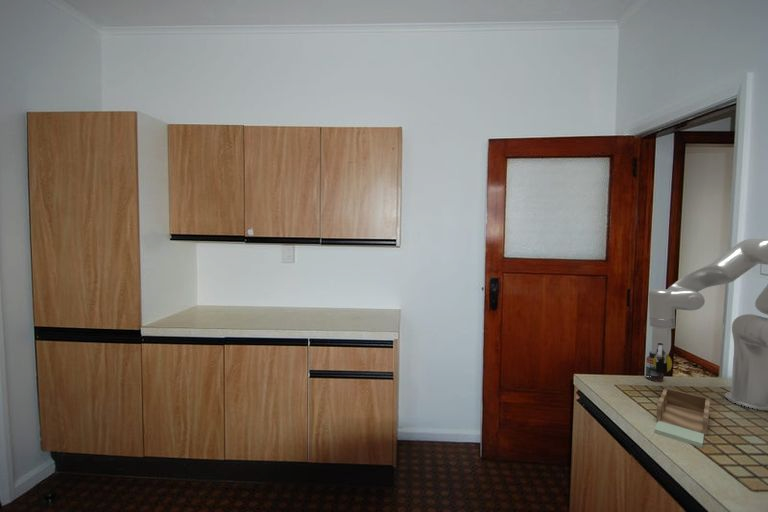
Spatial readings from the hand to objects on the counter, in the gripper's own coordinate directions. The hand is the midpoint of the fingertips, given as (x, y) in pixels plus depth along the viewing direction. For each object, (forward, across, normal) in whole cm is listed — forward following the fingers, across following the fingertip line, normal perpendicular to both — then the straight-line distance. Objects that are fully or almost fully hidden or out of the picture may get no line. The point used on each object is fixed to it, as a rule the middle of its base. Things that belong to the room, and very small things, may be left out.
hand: (662, 369), depth 135 cm
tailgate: (+8, +28, +7) cm, 30 cm away
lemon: (+2, 0, 0) cm, 2 cm away
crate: (+9, +18, +7) cm, 22 cm away
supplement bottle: (+10, -16, -5) cm, 19 cm away
